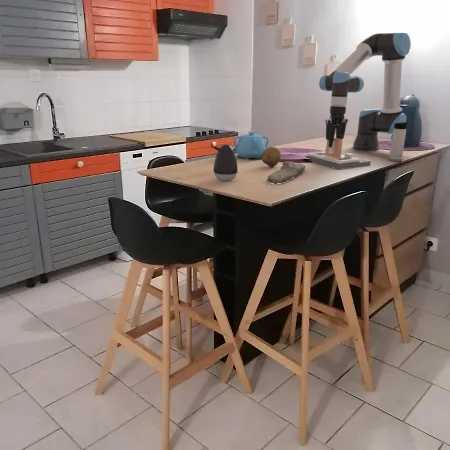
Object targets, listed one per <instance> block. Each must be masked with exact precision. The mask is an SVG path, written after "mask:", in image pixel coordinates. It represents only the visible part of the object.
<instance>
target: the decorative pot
mask: <svg viewBox="0 0 450 450" xmlns="http://www.w3.org/2000/svg"><path fill="white" fill-rule="evenodd" d="M264 138H265V139H266V142H265V141H264ZM236 140H237V142H236ZM232 141H233V146H234V147H232V149H233V151H234V154H237V155H238V156H239V157H241V158H243V160H249V159H250V158H252V159H254V158H255V159H256V160H259V159H261V158H262V154H263V152H264V150H265V149H267V148H268V145H269V142H270V139H269V137H268V136H266V135H260V134H257V133H255V131H248V133H247V134H246V133H245V134H241V135H240V136H239V135H238V136H235V137H234V138H233V140H232Z"/></svg>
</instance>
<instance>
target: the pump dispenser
mask: <svg viewBox="0 0 450 450" xmlns="http://www.w3.org/2000/svg"><path fill="white" fill-rule="evenodd" d="M212 149H214V150H216V151H217V153H216V156H215V159H214V162H213V163H214V164H213V173H214V176H215V178H216V179H217V180H218V181H220V182H231V181H233V180H234V179H235V178H236V176H237V174H238V162H237V161H238V160H237V157H236V153H234V151H235V150H234V151H233V147H232V146H231V145H230V144H226V143H224V144H222V145H221V146H219V147H218V146H216V145H214V146H212Z"/></svg>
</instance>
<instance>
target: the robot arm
mask: <svg viewBox="0 0 450 450" xmlns="http://www.w3.org/2000/svg"><path fill="white" fill-rule="evenodd" d="M411 43H412V42H411V38H410V35H409V33H408V32H406V31H399V30H397V31H384V32H382V31H380V32H379V31H378V32H376V33H373V34H371V35H369V36H367V37H366V38H365V39H363V40H362V41H361V42H360V43H359V44H358V45H357V46H356V48H355V50H354V51H352V53H351V54H350V55H349V56H347V57H346V58H345V59H344V60H343V61H342V63H340V64H339V65H338V66H337V67H336V68H335V69H334V70H333V71H332V72H331V73H330V74H329V75H328V74H326V75H322V76H321V77H320V79H319V82H318V85H319V88H320V90H322V91H326V92H331V96H330V97H331V98H330V105H331V106H329V114H330V116H329V118H328V119H325V121H324V122H325V140H326V141H327V140H329V154H333V152H334V143H335V141H333V140H334V137H335V138H339V139H344V138H345V133H346V129H347V124H348V122H349V119H348V118H346V117H345V114H346V113H347V112H346V111H347V107H346V106H347V105H348V104H347V101H348V95H349V94H348V93H354V94H355V93H358V92H361V91H362V90H363V88H364V84H365V83H364V79H363V78H362V77H360V76H358V75H357V76H351V74H353V73H354V72H355V71H356V70H357V69H358V68H359V67H360V66H361V65H362V64H363V63H365V61H368V60H369V59H371V58H372V57H376V56H379V57H380V56H381V62H383V63H384V70H383V71H384V75H383V97H382V99H383V101H382V102H383V103H382V106H383V107H381V108H371V109H362V110H361V111H359V116H358V123H357V124H358V125H357V131H356V132H357V134H356V136H355V139H354V141H353V143H352V148H353V149H355V150H362V151H377V150H379V148H380V144H379V139H378V138H379V137H378V133H382V134H389V135H393V130H394V124H395V123H400V122H407V116H406V114H405V113H403V108H402V107H401V106H400V104H401V103H400V101H401V88H402V87H401V85H402V81H401V80H402V67H403V65H402V64H403V63H402V62H403V61H404V60H405V59H406V56H407V55H409V53H410V50H411V46H412V45H411Z"/></svg>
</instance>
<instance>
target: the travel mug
mask: <svg viewBox="0 0 450 450" xmlns="http://www.w3.org/2000/svg"><path fill="white" fill-rule="evenodd" d="M408 124H409V122H408V121H406V122H400V123H395V124H394V130H393V134H392V136H391V143H390V151H389V157H388V160H389V161H391V162H402V161H403V160H402V159H403V154H404V147H405V141H406V136H407V135H406V133H407V126H408Z"/></svg>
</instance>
